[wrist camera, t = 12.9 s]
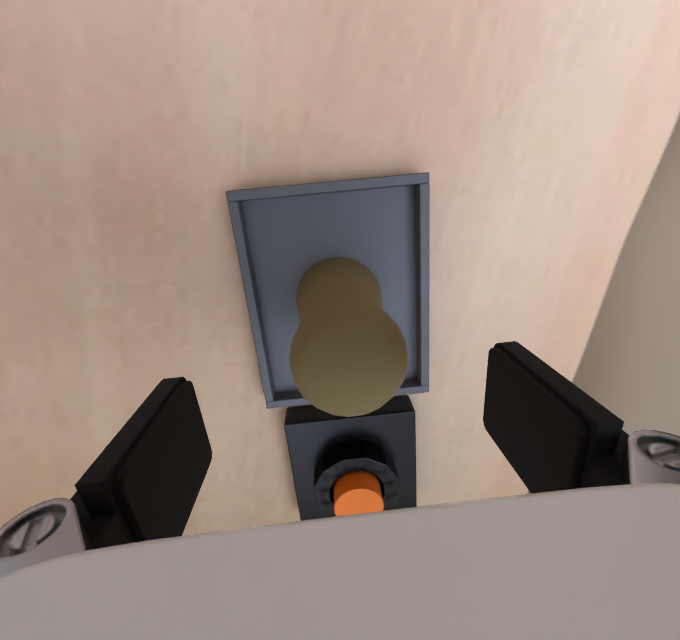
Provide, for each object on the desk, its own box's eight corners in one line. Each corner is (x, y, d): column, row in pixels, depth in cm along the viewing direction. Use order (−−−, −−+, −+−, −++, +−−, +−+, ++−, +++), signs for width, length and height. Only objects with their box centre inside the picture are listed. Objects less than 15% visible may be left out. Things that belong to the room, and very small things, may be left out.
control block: (286, 407, 27) (281, 441, 23) (408, 395, 27) (422, 426, 24) (303, 508, 31) (300, 551, 27) (410, 497, 31) (422, 537, 27)
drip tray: (233, 192, 22) (225, 191, 20) (420, 174, 22) (429, 172, 20) (270, 394, 27) (266, 409, 25) (421, 379, 27) (429, 392, 25)
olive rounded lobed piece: (394, 273, 23) (452, 330, 13) (364, 349, 25) (393, 454, 14) (310, 244, 22) (299, 282, 12) (285, 326, 24) (257, 420, 14)
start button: (331, 472, 25) (331, 491, 23) (378, 467, 25) (382, 486, 24) (335, 508, 26) (336, 529, 25) (381, 503, 26) (384, 523, 25)
